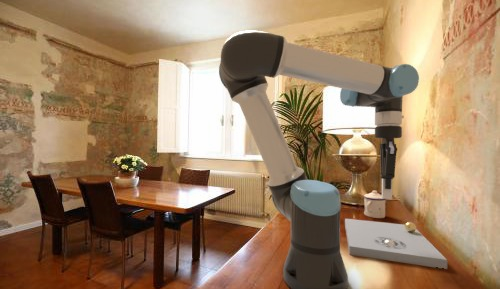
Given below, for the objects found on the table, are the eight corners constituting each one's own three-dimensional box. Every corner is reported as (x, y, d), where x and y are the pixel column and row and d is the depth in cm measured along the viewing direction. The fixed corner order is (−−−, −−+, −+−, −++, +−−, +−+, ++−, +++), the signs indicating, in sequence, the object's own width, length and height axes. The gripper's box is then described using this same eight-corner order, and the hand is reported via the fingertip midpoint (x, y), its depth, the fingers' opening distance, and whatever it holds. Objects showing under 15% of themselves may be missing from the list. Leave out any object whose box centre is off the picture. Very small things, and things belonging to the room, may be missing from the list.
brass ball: (417, 234, 79) (417, 224, 79) (406, 233, 80) (406, 223, 80) (414, 230, 82) (414, 221, 82) (403, 229, 84) (403, 220, 84)
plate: (447, 269, 61) (447, 259, 61) (349, 254, 70) (349, 246, 70) (412, 232, 88) (412, 225, 88) (344, 224, 96) (344, 218, 96)
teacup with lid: (368, 211, 115) (369, 188, 115) (389, 216, 108) (389, 191, 108) (357, 216, 107) (357, 191, 107) (377, 221, 100) (378, 194, 100)
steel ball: (396, 253, 71) (397, 247, 69) (384, 253, 72) (384, 247, 70) (393, 243, 74) (394, 237, 72) (381, 243, 75) (382, 237, 73)
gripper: (407, 123, 68) (406, 204, 67) (396, 127, 80) (395, 195, 80) (378, 124, 70) (377, 201, 70) (371, 127, 82) (370, 193, 82)
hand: (386, 198), depth 75 cm, fingers closed
